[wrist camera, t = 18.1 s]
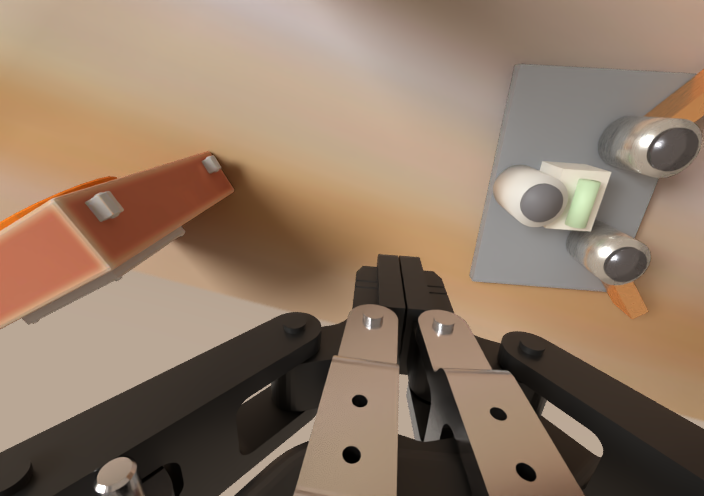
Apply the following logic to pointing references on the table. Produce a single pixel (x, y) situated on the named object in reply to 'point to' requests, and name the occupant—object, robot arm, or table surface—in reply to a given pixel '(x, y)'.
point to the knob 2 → (658, 134)
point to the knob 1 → (612, 263)
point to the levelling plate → (565, 137)
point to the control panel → (98, 233)
